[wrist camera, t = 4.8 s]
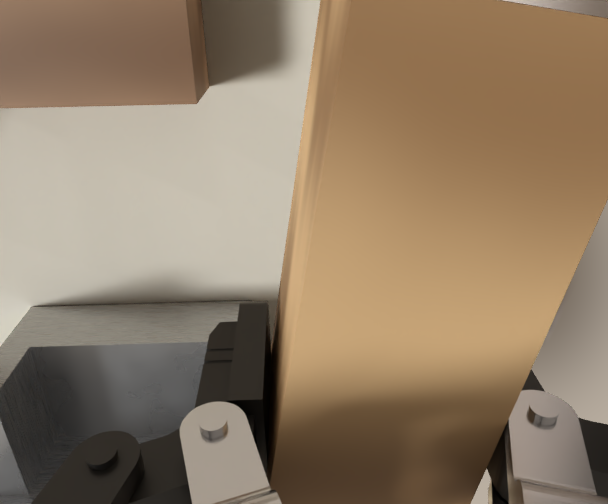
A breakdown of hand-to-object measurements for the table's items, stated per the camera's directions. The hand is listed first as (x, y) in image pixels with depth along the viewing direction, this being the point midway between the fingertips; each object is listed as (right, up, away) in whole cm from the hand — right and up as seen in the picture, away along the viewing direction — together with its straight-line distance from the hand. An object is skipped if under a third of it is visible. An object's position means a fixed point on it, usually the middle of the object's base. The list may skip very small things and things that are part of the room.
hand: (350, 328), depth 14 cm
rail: (0, 0, 0) cm, 1 cm away
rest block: (-9, +10, +5) cm, 14 cm away
